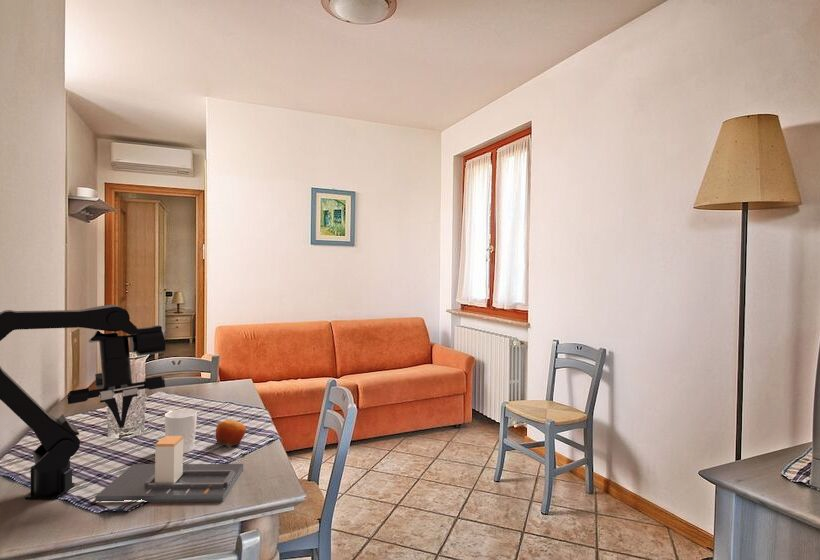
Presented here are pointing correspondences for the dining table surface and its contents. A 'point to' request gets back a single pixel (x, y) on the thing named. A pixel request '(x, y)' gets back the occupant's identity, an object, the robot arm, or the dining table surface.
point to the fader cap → (169, 459)
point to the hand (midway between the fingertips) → (121, 427)
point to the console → (173, 484)
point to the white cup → (182, 426)
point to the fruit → (229, 433)
